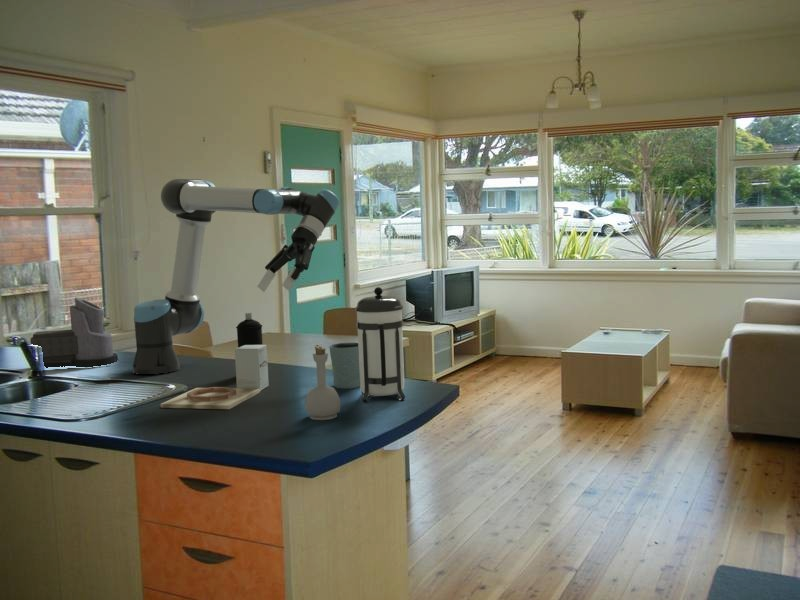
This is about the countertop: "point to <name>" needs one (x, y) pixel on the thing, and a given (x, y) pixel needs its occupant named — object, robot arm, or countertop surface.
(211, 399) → the collar board
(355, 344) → the teal cup
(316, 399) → the potion bottle
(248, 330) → the aerosol can
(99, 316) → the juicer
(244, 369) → the supplement box
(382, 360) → the coffee press
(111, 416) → the countertop surface
